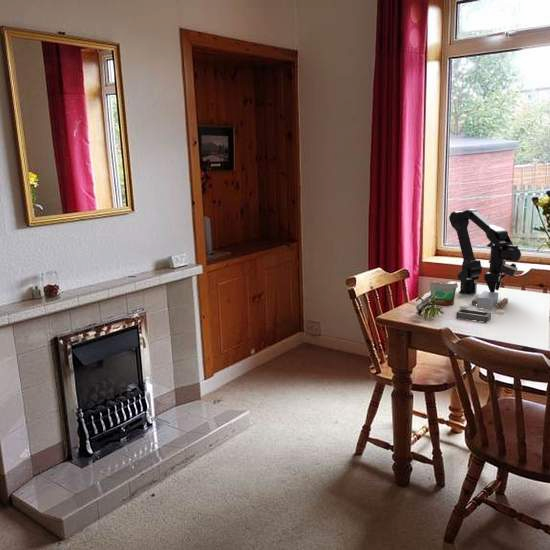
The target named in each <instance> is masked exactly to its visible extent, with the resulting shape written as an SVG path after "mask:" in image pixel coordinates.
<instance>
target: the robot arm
mask: <svg viewBox="0 0 550 550" xmlns="http://www.w3.org/2000/svg"><path fill="white" fill-rule="evenodd" d="M448 218H449V223H450V225H451V228H453V229H454V230H455V231H456V235H457V239H458V243H459V247H460V252H461V256H462V263H461V271H460V272H459V273H458V274H457V275H456V276H457V279H458V281H460V288H459V289H460V290H459V291H458V292H459V293H461V294H467V295H474V294H475V293H477V289H478V288H477V287H478V283H477V280H479V279H480V276H481V275H482V273H483V270H482V269H483V266H482V264H481V263H482V262H481V260H480V259H477V258H476V257H475V255H474V250H473V247H472V243H471V239H470V235H469V230H468V227H469V223H470V221H471V222H472V223H474V224H475V225H476V226H477V227H479V229H481V230H482V231H483V232H484V233H485V236H486V238H487V239H488V240H489V243H488V244H487V245H486V247H488V248H490V252H489V253H490V255H489V256H490V257H489V260H488V263H489V269H488V271H487V272H486V273H485V274H484V275H483V280H484V281H485V283H486V285H487V288H488V290H489V292H496V291H499V290H500V286H501V283H502V280H503V279H504V278H505V277H506V276H507V275H508V276H510V277H514V276H516V273H517V271H518V267H517V264H516V263H517V262H518V261H520V259H521V257H522V253H521V250H520V248H519V245H514V244H513V242H512V240H511V238H510V235H509V232H508V231H507V230H506V228H505V229H504V228H503V227H500V226H498V225H495V224H493V223H492V221H490V220H489V219H488V218H486V217H485V216H484V215H482V214H481V213H480V211H479V210H478V209H477V208H470V209H469V208H468V209H466V210H460V211H459V210H458V211H452V212H450V214H449V217H448ZM506 261H510V262H515V263H511V264H508V263H506Z"/></svg>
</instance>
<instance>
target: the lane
mask: <svg viewBox="0 0 550 550" xmlns="http://www.w3.org/2000/svg"><path fill="white" fill-rule="evenodd" d="M479 295H480V294H479ZM479 295H476V297H474V298H473V299H472V300H471V305H472V306H476V304H477V297H478V296H479ZM508 302H509V298H505V297H504V298H503V299H500V301H498V304H497V309H499V308H500V309H499V310H503V308H504V307H505V306H506V305H507V304H508Z"/></svg>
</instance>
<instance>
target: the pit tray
mask: <svg viewBox="0 0 550 550" xmlns="http://www.w3.org/2000/svg"><path fill="white" fill-rule="evenodd" d="M455 314H456V315H455V318H456V319H459V318H460V320H466V319H468V320H467V321H472V320H476V321H475V322H479V321H483V322H482V323H486V322H487V321H488V322H489V321H491V319H492V312H488V311H481V310H472V309H469V308H468V309H458V310H457V311H456V313H455ZM488 322H487V323H488Z"/></svg>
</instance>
